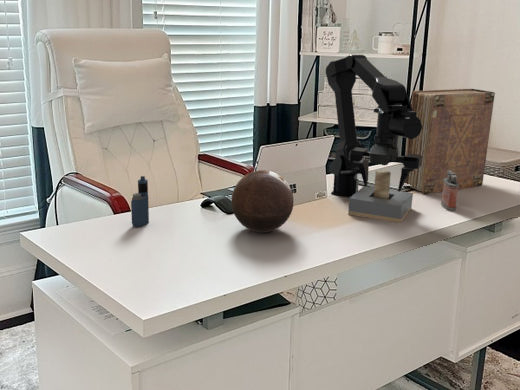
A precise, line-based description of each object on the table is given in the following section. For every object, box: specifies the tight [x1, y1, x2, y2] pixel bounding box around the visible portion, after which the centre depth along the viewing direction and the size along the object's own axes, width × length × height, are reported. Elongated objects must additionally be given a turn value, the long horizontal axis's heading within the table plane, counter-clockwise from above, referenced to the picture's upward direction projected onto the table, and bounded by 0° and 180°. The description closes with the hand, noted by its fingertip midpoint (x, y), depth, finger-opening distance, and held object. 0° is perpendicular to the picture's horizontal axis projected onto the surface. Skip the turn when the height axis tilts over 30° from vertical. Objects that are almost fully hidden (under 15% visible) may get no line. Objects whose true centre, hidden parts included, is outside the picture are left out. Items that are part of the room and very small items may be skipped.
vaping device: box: [130, 175, 150, 228], centre depth 151 cm, size 3×5×12 cm, turn 155°
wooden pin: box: [374, 170, 391, 200], centre depth 167 cm, size 4×4×10 cm
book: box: [404, 88, 496, 195], centre depth 191 cm, size 25×9×30 cm, turn 118°
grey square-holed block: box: [347, 185, 414, 224], centre depth 168 cm, size 14×14×4 cm
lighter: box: [440, 171, 459, 212], centre depth 173 cm, size 8×3×10 cm, turn 179°
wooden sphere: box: [231, 169, 295, 233], centre depth 149 cm, size 15×15×15 cm
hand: (382, 188), depth 166 cm, fingers open, 9 cm apart
